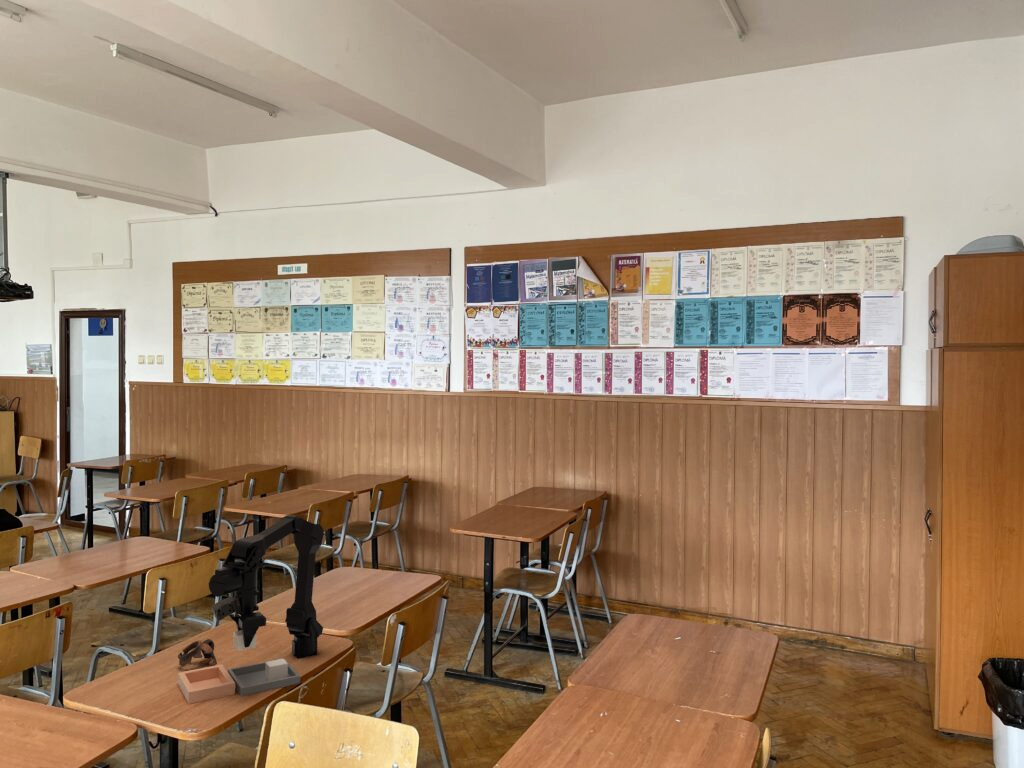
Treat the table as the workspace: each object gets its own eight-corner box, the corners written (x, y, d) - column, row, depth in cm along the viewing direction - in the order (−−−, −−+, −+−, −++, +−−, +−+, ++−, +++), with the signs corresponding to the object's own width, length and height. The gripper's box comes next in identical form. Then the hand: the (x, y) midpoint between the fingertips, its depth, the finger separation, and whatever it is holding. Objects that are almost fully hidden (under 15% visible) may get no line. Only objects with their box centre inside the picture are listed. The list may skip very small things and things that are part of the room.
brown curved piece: (211, 675, 212) (195, 652, 210) (183, 687, 214) (167, 664, 212) (229, 649, 224) (214, 626, 222) (203, 660, 225) (188, 638, 223)
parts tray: (283, 667, 217) (284, 658, 217) (300, 685, 205) (300, 675, 205) (227, 678, 209) (227, 669, 209) (241, 698, 197) (241, 688, 197)
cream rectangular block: (252, 642, 207) (252, 628, 207) (256, 647, 204) (256, 632, 204) (233, 646, 204) (233, 631, 204) (237, 650, 201) (237, 636, 201)
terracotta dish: (222, 676, 210) (222, 664, 210) (235, 696, 198) (235, 682, 198) (177, 685, 203) (178, 672, 203) (188, 706, 192) (188, 692, 191)
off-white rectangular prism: (283, 672, 212) (283, 658, 212) (287, 677, 209) (287, 663, 209) (265, 676, 209) (265, 662, 209) (269, 681, 206) (269, 667, 206)
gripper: (206, 582, 207) (205, 639, 207) (223, 600, 192) (222, 661, 192) (248, 577, 213) (246, 632, 214) (267, 594, 198) (266, 653, 198)
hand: (244, 644), depth 204 cm, fingers closed on cream rectangular block, 4 cm apart
